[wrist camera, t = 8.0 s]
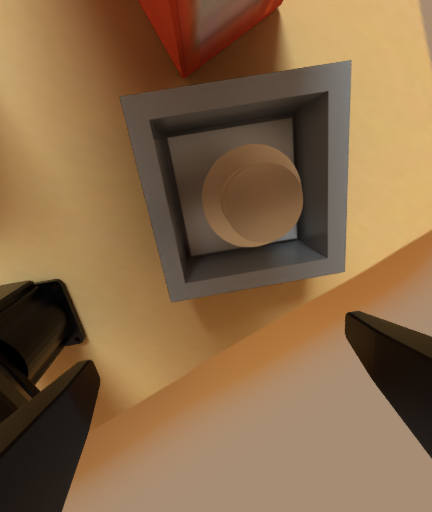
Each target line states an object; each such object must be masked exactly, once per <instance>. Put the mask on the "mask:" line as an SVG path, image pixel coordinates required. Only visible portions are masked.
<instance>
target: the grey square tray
mask: <svg viewBox="0 0 432 512" xmlns="http://www.w3.org/2000/svg"><path fill="white" fill-rule="evenodd" d="M350 90H351V60H349V61H343V62H336V63H330V64H324V65H317V66H311V67H304V68H298V69H292V70H285V71H279V72H273V73H266V74H260V75H254V76H247V77H241V78H235V79H228V80H222V81H215V82H209V83H203V84H196V85H190V86H184V87H177V88H171V89H165V90H158V91H152V92H146V93H139V94H133V95H126V96H120V101H121V105H122V109H123V113H124V117H125V121H126V125H127V129H128V133H129V137H130V141H131V145H132V149H133V153H134V157H135V161H136V165H137V169H138V173H139V177H140V181H141V185H142V189H143V193H144V197H145V201H146V205H147V209H148V213H149V217H150V221H151V225H152V229H153V233H154V236H155V240H156V244H157V248H158V252H159V256H160V260H161V264H162V268H163V272H164V276H165V280H166V284H167V288H168V292H169V296H170V300H171V302H177V301H183V300H188V299H194V298H200V297H205V296H211V295H217V294H222V293H228V292H234V291H239V290H245V289H251V288H256V287H262V286H268V285H273V284H279V283H285V282H290V281H296V280H302V279H307V278H313V277H319V276H324V275H330V274H336V273H341V272H345V252H346V219H347V187H348V154H349V122H350ZM287 118H292V133H293V157H294V166H295V168H296V170H297V172H298V174H299V177H300V181H301V187H302V192H303V207H302V211H301V214H300V217H299V219H298V221H297V223H296V229H297V238H293V239H287V240H281V241H276V242H270V243H268V244H265V245H262V246H258V247H241V248H235V249H229V250H223V251H218V252H212V253H206V254H200V255H195V256H191V252H190V247H189V242H188V237H187V232H186V227H185V222H184V217H183V212H182V207H181V202H180V197H179V193H178V188H177V183H176V178H175V173H174V168H173V163H172V158H171V153H170V148H169V143H168V138H170V137H176V136H182V135H188V134H194V133H200V132H207V131H213V130H219V129H225V128H231V127H238V126H244V125H250V124H256V123H262V122H269V121H275V120H281V119H287Z"/></svg>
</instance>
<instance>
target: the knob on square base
mask: <svg viewBox="0 0 432 512" xmlns="http://www.w3.org/2000/svg"><path fill="white" fill-rule="evenodd" d="M168 143H169V148H170V153H171V158H172V163H173V168H174V173H175V178H176V183H177V188H178V193H179V197H180V202H181V207H182V212H183V217H184V222H185V227H186V232H187V237H188V242H189V247H190V252H191V256H195V255H200V254H206V253H212V252H218V251H223V250H229V249H235V248H241V247H258V246H262V245H265V244H268V243H270V242H276V241H281V240H287V239H293V238H297V229H296V223H297V221H298V219H299V217H300V214H301V211H302V207H303V192H302V187H301V181H300V177H299V174H298V172H297V170H296V168H295V166H294V157H293V133H292V118H287V119H281V120H275V121H269V122H262V123H256V124H250V125H244V126H238V127H231V128H225V129H219V130H213V131H207V132H200V133H194V134H188V135H182V136H176V137H170V138H168Z"/></svg>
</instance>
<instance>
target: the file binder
mask: <svg viewBox="0 0 432 512" xmlns="http://www.w3.org/2000/svg"><path fill="white" fill-rule="evenodd" d="M138 1H139V3H140V5H141V7H142V8H143V10H144V12H145V14H146V15H147V17H148V19H149V21H150V22H151V24H152V26H153V28H154V29H155V31H156V33H157V35H158V36H159V38H160V40H161V42H162V43H163V45H164V47H165V49H166V50H167V52H168V54H169V56H170V57H171V59H172V61H173V62H174V64H175V66H176V68H177V69H178V71H179V73H180V75H181V76H182V78H186V77H187V76H189V75H190V74H191V73H193V72H194V71H195V70H197V69H198V68H199V67H201V66H202V65H203V64H205V63H206V62H207V61H208V60H210V59H211V58H212V57H214V56H215V55H216V54H218V53H219V52H220V51H222V50H223V49H224V48H226V47H227V46H228V45H230V44H231V43H232V42H234V41H235V40H236V39H238V38H239V37H240V36H242V35H243V34H244V33H246V32H247V31H248V30H250V29H251V28H252V27H254V26H255V25H256V24H258V23H259V22H260V21H262V20H263V19H264V18H266V17H267V16H268V15H270V14H271V13H272V12H273V11H274V10H275V8H277V7H278V6H280V5H281V4H282V2H283V0H138Z"/></svg>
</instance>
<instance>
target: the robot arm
mask: <svg viewBox="0 0 432 512" xmlns="http://www.w3.org/2000/svg"><path fill="white" fill-rule="evenodd" d="M55 284H57V285H58V287H56V286H55ZM345 335H346V338H347V340H348V341H349V343H350V344H351V346H352V348H353V350H354V351H355V353H356V354H357V356H358V357H359V359H360V361H361V363H362V364H363V366H364V367H365V369H366V371H367V372H368V374H369V375H370V377H371V378H372V380H373V381H374V383H375V384H376V385H377V387H378V388H379V389H380V391H381V392H382V393H383V395H384V396H385V397H386V399H387V400H388V401H389V402H390V404H391V405H392V407H393V408H394V409H395V411H396V412H397V413H398V415H399V416H400V417H401V419H402V420H403V421H404V423H405V424H406V425H407V426H408V428H409V429H410V430H411V432H412V433H413V434H414V436H415V437H416V438H417V440H418V441H419V442H420V444H421V445H422V446H423V448H424V449H425V450H426V452H427V453H428V454H429V455H430V457H431V458H432V337H430V336H428V335H425V334H423V333H420V332H417V331H414V330H411V329H408V328H406V327H403V326H400V325H397V324H394V323H392V322H389V321H386V320H383V319H380V318H377V317H375V316H372V315H369V314H366V313H363V312H361V311H354V312H348V313H347V314H346V316H345ZM78 337H79V338H80V339H79V338H78ZM84 339H85V334H84V332H83V329H82V327H81V324H80V322H79V320H78V317H77V315H76V312H75V310H74V307H73V305H72V303H71V300H70V298H69V295H68V293H67V290H66V288H65V286H64V283H63V282H62V281H61V280H59V279H53V280H48V281H42V282H36V283H34V282H33V281H30V280H29V281H23V282H18V283H12V284H6V285H1V286H0V512H62V509H63V506H64V503H65V500H66V497H67V494H68V491H69V488H70V485H71V483H72V480H73V477H74V474H75V471H76V468H77V465H78V462H79V459H80V456H81V453H82V450H83V447H84V444H85V441H86V438H87V435H88V432H89V428H90V424H91V420H92V416H93V412H94V408H95V404H96V399H97V395H98V391H99V387H100V377H99V374H98V372H97V369H96V367H95V365H94V362H93V361H92V360H85V361H80V362H78V363H76V364H75V365H74V366H72V367H71V368H70V369H69V370H67V371H66V372H65V373H64V374H62V375H61V376H60V377H59V378H57V379H56V380H55V381H54V382H52V383H51V384H50V385H48V386H47V387H46V388H45V389H43V390H42V391H40V390H39V389H38V388H37V387H36V386H35V385H36V383H37V382H38V381H39V379H40V378H41V377H42V375H43V374H44V373H45V372H46V370H47V369H48V368H49V366H50V365H51V364H52V362H53V361H54V360H55V358H56V357H57V356H58V354H59V353H60V352H61V350H62V349H63V348H64V347H65V346H69V345H74V344H80V343H82V342H83V341H84Z"/></svg>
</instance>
